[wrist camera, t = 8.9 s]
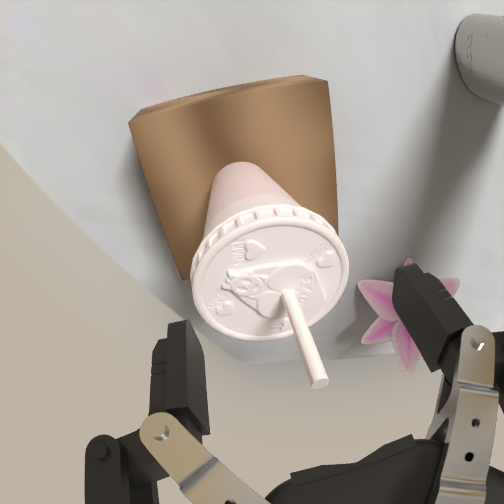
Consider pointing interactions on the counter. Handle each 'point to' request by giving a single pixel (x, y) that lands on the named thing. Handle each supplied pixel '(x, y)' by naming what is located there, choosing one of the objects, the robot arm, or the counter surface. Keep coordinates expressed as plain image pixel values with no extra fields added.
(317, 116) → the walnut block
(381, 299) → the lily
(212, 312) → the smoothie
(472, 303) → the counter surface
